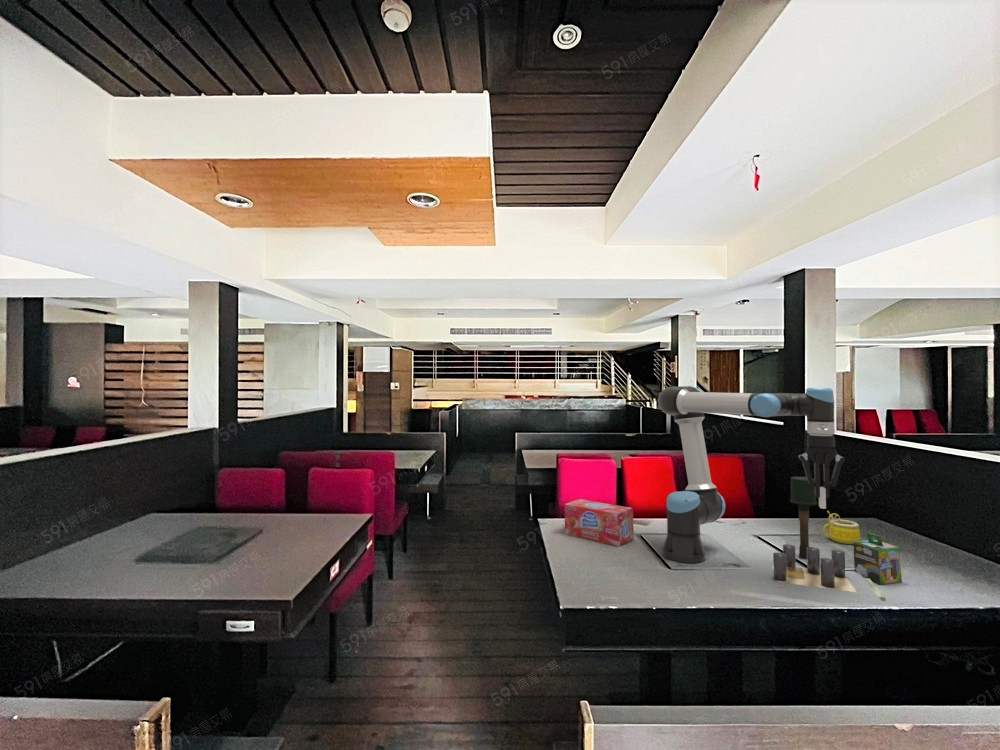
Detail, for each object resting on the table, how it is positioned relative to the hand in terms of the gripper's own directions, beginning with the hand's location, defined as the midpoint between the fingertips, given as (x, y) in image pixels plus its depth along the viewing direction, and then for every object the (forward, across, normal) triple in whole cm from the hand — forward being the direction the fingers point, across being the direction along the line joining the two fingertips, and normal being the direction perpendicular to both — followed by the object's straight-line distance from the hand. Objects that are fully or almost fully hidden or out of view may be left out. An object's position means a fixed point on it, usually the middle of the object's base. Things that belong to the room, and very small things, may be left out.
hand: (822, 507), depth 158 cm
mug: (+25, +16, +56) cm, 63 cm away
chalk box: (+25, +17, +12) cm, 32 cm away
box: (+25, -78, +22) cm, 85 cm away
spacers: (+23, -4, 0) cm, 23 cm away
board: (+24, 0, 0) cm, 24 cm away
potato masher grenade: (+25, -2, +23) cm, 34 cm away
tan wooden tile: (+23, -8, 0) cm, 24 cm away
